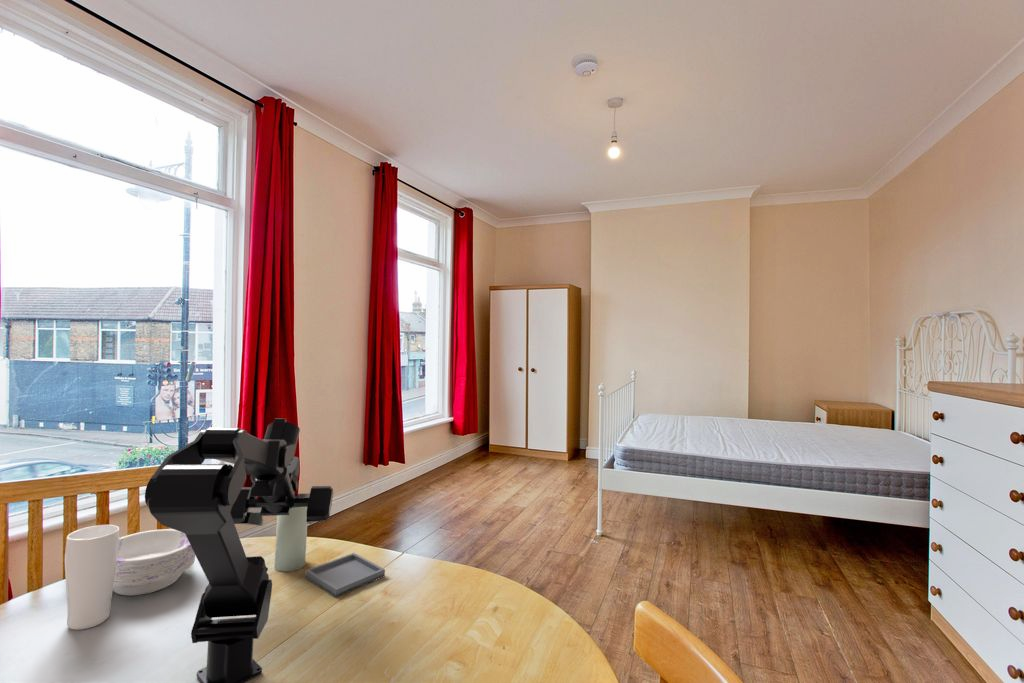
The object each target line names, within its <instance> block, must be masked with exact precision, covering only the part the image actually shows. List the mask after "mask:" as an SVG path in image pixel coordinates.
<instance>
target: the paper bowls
mask: <svg viewBox="0 0 1024 683" xmlns="http://www.w3.org/2000/svg"><path fill="white" fill-rule="evenodd" d="M150 554H151V555H150ZM195 559H196V555H195V553H194V551H193V549H192V547H191V545H190V543H189V541H188V539H187V537H186V535H185V533H183V532H180V531H177V530H174V529H172V528H163V529H160V528H159V529H152V530H146V531H140V532H135V533H131V534H128V535H123V536H121V537H120V540H119V553H118V560H117V566H116V572H115V579H114V585H113V591H112V592H114V593H116V594H118V595H121V596H141V595H147V594H151V593H153V592H154V593H155V592H158V591H160V590H162V589H164V588H167V587H168V586H171V585H172V584H174V583H175V582H176V581H177V580H179V578H180V577H181V575H182V574H183V573H184V572H186V571H187V570H188V569H190V568H191V566H193V565H194V563H195Z"/></svg>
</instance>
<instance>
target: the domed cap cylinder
mask: <svg viewBox="0 0 1024 683" xmlns="http://www.w3.org/2000/svg"><path fill="white" fill-rule="evenodd" d="M306 520H307V507H292V508H291V509H290V513H289V515H276V529H275V530H276V534H275V550H274V569H275V570H276V571H278V572H286V573H287V572H293V571H296V570H299V569H301V568H303V567H304V566H305V565H306V558H307V556H306V554H307V539H308V538H307V537H308V536H307V535H308V524H307V522H306Z"/></svg>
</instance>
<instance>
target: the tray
mask: <svg viewBox="0 0 1024 683" xmlns="http://www.w3.org/2000/svg"><path fill="white" fill-rule="evenodd" d="M385 572H386V569H385V568H383V567H382V566H380V565H378V564H376V563H374V562H373V561H370V560H368V559H367V558H365V557H362V556H360V555H359V554H357V553H356V552H352V553H349V554H347V555H346V554H345V555H343V556H341V557H338V558H336V559H332V560H329V561H327V562H324V563H321V564H318V565H316V566H313V567H310V568H308V569H305V575H304V578H305V579H306V580H308V581H310V582H311V583H313V584H314V585H316V586H317V587H319V588H321V589H322V590H324V592H326V593H328V594H329V595H331V596H333V597H334V598H339V597H340V596H343V595H345V594H348V593H350V592H352V591H355V590H357V589H359V588H362V587H364V586H366V585H369V584H370V582H371V583H373V582H375V581H377V580H376V579H378V578H380V579H382V578H384V577H383V576H385V574H386V573H385ZM381 577H382V578H381ZM374 580H375V581H374ZM378 580H379V579H378ZM372 581H373V582H372Z"/></svg>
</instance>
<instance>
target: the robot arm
mask: <svg viewBox="0 0 1024 683" xmlns="http://www.w3.org/2000/svg"><path fill="white" fill-rule="evenodd" d="M300 430H301V429H300V427H299V426H298V425H296V424H295V423H292V422H290V421H289V422H288V421H287V418H279V417H278V418H276V417H275V418H274V420H273V422H271V423H269V424H268V425H267V427H266V431H265V434H264V438H263V439H261V438H259V437H256V436H254V435H252V434H250V433H248V431H247V430H246V429H242V428H240V427H208V428H207V429H201V431H200V432H199V433H198V434H197V436H196V437H195V439H194V440H193V441H191V442H189V443H188V444H186V445H184V446H182V447H180V448H179V449H177V450H176V451H174V452H172V453H170V454H168V455H167V456H166V457H165V458H164V460H163V461H162V462H161V464H160V465H159V466H158V468H157V469H156V471H155V472H154V474H152V476H151V477H150V478H149V481H148V482H147V485H146V487H145V490H144V491H145V492H144V501H145V505H146V506H147V507H148V508H147V509H148V511H149V513H150V514H151V516H152V517H153V518H154V519H155V520H156V521H157V522H159V524H160V525H161V526H163V527H166V528H168V529H174V530H177V531H180V532H183V533H185V535H186V537H187V539H188V541H189V543H190V545H191V547H192V549H193V551H194V553H195V558H196V559H197V561H198V563H199V565H200V567H201V569H202V571H203V573H204V575H205V578H206V579H207V580H206V581H207V582H208V583H207V585H206V587H205V589H204V592H203V593H202V594H201V598H200V601H199V605H198V608H197V612H196V615H195V618H194V623H193V625H192V627H191V633H190V634H191V636H190V638H191V641H192V642H191V643H192V644H198V643H203V642H207V654H206V655H207V657H206V666H205V667H202V668H201V669H199V670H197V671H196V678H198V680H199V681H200V683H245V682H247V681H248V680H250V679H253V678H254V677H256V676H259V675H260V674H262V673H263V667H261V665H260V664H259V663H258V662H257V661H255V659H254V658H253V656H254V655H253V654H254V640H255V639H259V637H260V636H261V633H262V632H263V629H264V628H265V626H266V624H267V622H268V619H269V613H270V607H271V606H270V605H271V600H272V599H271V598H272V597H271V596H272V591H273V580H272V579H270V578H269V573H268V570H269V568H268V567H267V566H266V561H265V558H264V557H262V556H261V555H259V556H258V555H257V556H247V554H246V553H245V550H244V548H243V545H242V544H243V543H242V541H241V539H240V536H239V532H238V530H237V529H236V528H237V527H236V525H247V526H256V527H257V526H258V527H262V526H263V524H264V518H263V517H264V516H265V517H268V516H269V517H271V516H272V517H273V516H277V515H289V513H290V509H291V508H292V507H307V520H306V522H307V525H312V524H314V523H317V522H322V521H327V520H328V519H330V517H331V516H330V515H331V510H332V504H333V500H334V499H333V498H334V489H333V488H332V486H331V485H317V486H315V485H313V486H311V488H310V492H309V493H295V492H297V491H298V488H299V483H298V478H299V474H300V471H301V470H300V467H301V466H300V458H299V457H298V456H295V454H296V450H297V444H298V440H299V436H300V433H301V431H300ZM205 460H217V461H221V462H225V463H217V464H216V463H204V462H205ZM247 475H249V476H250V480H251V483H252V485H251V486H250V487H249V486H246V487H245V486H244V484H245V482H246V480H247ZM243 616H249V617H243ZM251 616H252V617H251ZM224 617H225V618H224ZM226 617H227V618H226ZM228 617H233V618H228ZM214 618H217V619H214Z"/></svg>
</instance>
